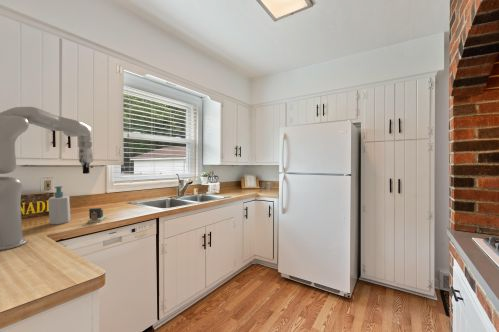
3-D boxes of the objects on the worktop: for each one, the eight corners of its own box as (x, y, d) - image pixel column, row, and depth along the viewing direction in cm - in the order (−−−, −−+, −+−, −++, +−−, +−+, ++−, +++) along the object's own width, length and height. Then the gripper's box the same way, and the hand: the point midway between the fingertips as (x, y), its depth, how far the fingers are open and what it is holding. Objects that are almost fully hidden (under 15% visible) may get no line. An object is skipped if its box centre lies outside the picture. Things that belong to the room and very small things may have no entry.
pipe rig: (87, 222, 145) (87, 212, 145) (94, 218, 155) (94, 208, 154) (100, 221, 147) (100, 212, 146) (106, 217, 156) (106, 208, 156)
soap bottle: (67, 219, 153) (66, 185, 152) (73, 221, 148) (71, 186, 146) (47, 223, 145) (45, 186, 143) (52, 225, 139) (50, 188, 138)
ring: (89, 218, 146) (89, 209, 146) (90, 217, 148) (90, 208, 148) (100, 218, 147) (100, 208, 147) (101, 217, 149) (101, 207, 149)
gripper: (86, 144, 147) (87, 174, 148) (96, 145, 162) (97, 172, 163) (72, 144, 146) (73, 174, 147) (83, 145, 160) (84, 172, 161)
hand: (86, 173), depth 155 cm, fingers closed
